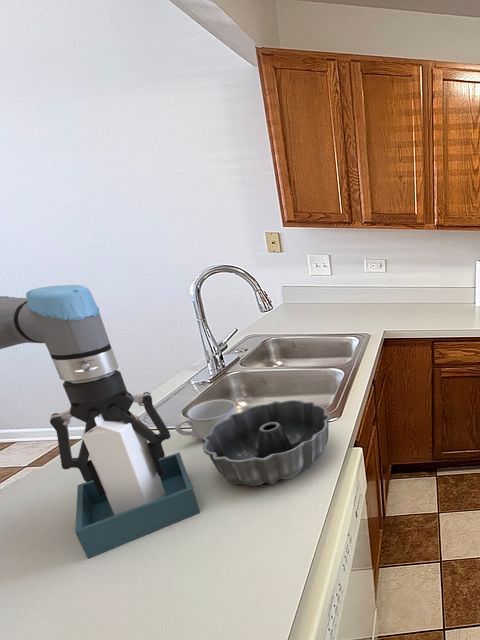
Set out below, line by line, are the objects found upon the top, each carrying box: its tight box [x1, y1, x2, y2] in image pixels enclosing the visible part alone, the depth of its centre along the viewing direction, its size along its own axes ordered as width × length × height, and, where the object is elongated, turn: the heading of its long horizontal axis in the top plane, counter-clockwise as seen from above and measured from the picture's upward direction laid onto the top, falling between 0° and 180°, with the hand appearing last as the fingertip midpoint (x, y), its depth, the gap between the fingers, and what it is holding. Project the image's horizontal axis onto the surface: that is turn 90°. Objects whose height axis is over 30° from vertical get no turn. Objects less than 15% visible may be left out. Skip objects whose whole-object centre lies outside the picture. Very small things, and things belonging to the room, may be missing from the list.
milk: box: [80, 414, 166, 515], centre depth 76 cm, size 6×6×22 cm
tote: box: [74, 452, 201, 559], centre depth 79 cm, size 17×17×6 cm
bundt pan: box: [202, 399, 331, 487], centre depth 94 cm, size 26×26×10 cm
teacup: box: [174, 398, 238, 440], centre depth 104 cm, size 14×11×8 cm
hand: (132, 481), depth 77 cm, fingers closed on milk, 8 cm apart
